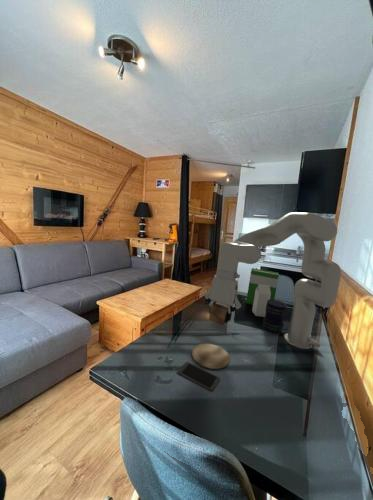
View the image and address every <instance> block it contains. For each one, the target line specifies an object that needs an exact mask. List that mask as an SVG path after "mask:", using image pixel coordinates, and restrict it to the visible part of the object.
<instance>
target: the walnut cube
mask: <svg viewBox="0 0 373 500" xmlns="http://www.w3.org/2000/svg"><path fill="white" fill-rule="evenodd" d="M209 310H210V313H209V315H210V316H209V317H208V320H209V322H210V321H211V322H213V323H216V324H218V325H221V326H224V325H226V323H225V318H226V313H227V312H228V311H227V306H226V305H224V304H221V303H218V302H216V303H214V304H212V305H211V309H210V308H209Z"/></svg>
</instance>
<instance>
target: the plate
mask: <svg viewBox="0 0 373 500" xmlns="http://www.w3.org/2000/svg"><path fill="white" fill-rule="evenodd" d="M191 353H192V354H191V355H192V358H193V360H194V361H195V362H196V363H197V364H199V365H200V366H202V367H204V368H207V369H211V370H221V369H224V368H225V367H227V366H228V365H229V364H230V359H231V358H230V354H229V353H228V352H227V350H225V349H224V348H222V347H221V346H218V345H216V344H213V343H199V344H197V345H195V346H194V347H193V348H192V351H191Z"/></svg>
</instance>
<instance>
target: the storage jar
mask: <svg viewBox="0 0 373 500" xmlns="http://www.w3.org/2000/svg"><path fill="white" fill-rule="evenodd" d="M287 306H288V305H287V304H286V303H284V302H283V301H280V300H276V299H274V300H267V305H266V314H265V317H263V323H262V328H263V330H264V331H266V332H268V333H269V334H273V335H280V334H282V332H283V331H282V330H283V327H284V319H285V316H286V312H287V311H286V310H287Z"/></svg>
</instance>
